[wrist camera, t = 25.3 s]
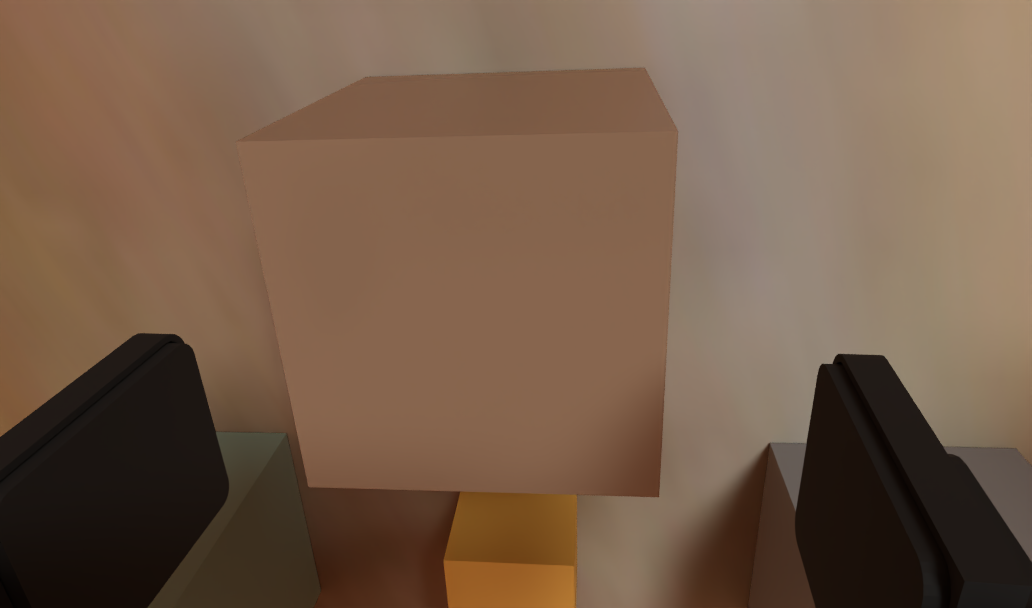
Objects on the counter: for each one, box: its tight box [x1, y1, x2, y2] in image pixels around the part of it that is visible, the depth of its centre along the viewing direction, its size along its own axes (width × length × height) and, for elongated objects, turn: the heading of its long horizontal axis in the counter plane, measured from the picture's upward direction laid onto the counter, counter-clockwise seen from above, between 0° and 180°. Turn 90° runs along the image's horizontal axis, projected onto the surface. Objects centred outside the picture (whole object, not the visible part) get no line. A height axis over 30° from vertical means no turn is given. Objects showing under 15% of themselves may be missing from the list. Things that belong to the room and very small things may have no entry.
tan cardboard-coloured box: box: [236, 68, 678, 497], centre depth 17 cm, size 8×8×8 cm
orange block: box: [443, 491, 577, 608], centre depth 24 cm, size 4×4×4 cm
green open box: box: [148, 432, 321, 608], centre depth 24 cm, size 8×8×8 cm
